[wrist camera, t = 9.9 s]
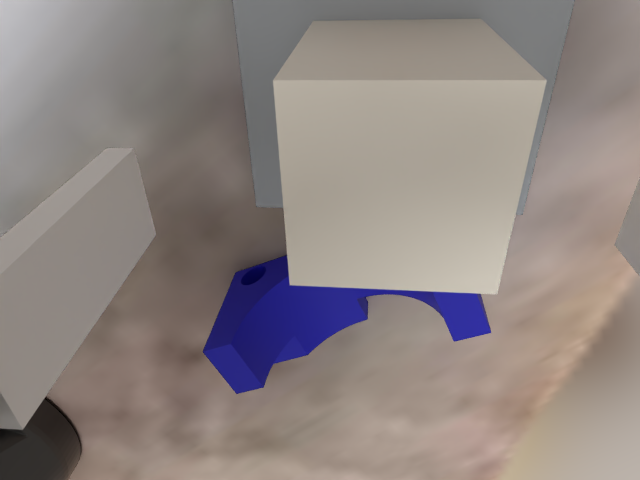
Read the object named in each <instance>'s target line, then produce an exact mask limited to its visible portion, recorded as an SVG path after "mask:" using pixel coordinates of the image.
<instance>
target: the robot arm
mask: <svg viewBox="0 0 640 480" xmlns="http://www.w3.org/2000/svg"><path fill="white" fill-rule="evenodd" d="M155 236H156V232H155V228H154V224H153V220H152V216H151V212H150V208H149V204H148V200H147V196H146V192H145V188H144V184H143V180H142V176H141V173H140V169H139V165H138V161H137V157H136V153H135V149H134V148H106V149H105V150H104V151H103V152H101V153H100V154H99V155H98V156H97V157H95V158H94V159H93V160H92V161H91V162H90V163H88V164H87V165H86V166H85V167H84V168H82V169H81V170H80V171H79V172H78V173H77V174H75V175H74V176H73V177H72V178H71V179H69V180H68V181H67V182H66V183H65V184H63V185H62V186H61V187H60V188H59V189H58V190H56V191H55V192H54V193H53V194H52V195H50V196H49V197H48V198H47V199H46V200H44V201H43V202H42V203H41V204H40V205H39V206H37V207H36V208H35V209H34V210H33V211H31V212H30V213H29V214H28V215H27V216H25V217H24V218H23V219H22V220H21V221H20V222H18V223H17V224H16V225H15V226H14V227H12V228H11V229H10V230H9V231H8V232H6V233H5V234H4V235H3V236H2V237H1V238H0V480H68V479H69V477H70V476H71V474H72V472H73V470H74V468H75V467H76V465H77V463H78V461H79V459H80V455H81V448H80V442H79V439H78V437H77V435H76V433H75V431H74V429H73V428H72V426H71V425H70V423H69V422H68V421H67V420H66V419H65V417H64V416H63V415H62V414H61V413H60V412H59V411H58V410H57V409H56V408H55V407H53V406H52V405H51V404H50V403H49V402H47V401H46V400H45V399H44V398H45V397H46V395H47V394H48V392H49V391H50V389H51V388H52V386H53V385H54V384H55V382H56V381H57V379H58V378H59V376H60V375H61V373H62V372H63V370H64V369H65V367H66V366H67V365H68V363H69V362H70V360H71V359H72V357H73V356H74V354H75V353H76V351H77V350H78V349H79V347H80V346H81V344H82V343H83V341H84V340H85V338H86V337H87V335H88V334H89V332H90V331H91V330H92V328H93V327H94V325H95V324H96V322H97V321H98V319H99V318H100V316H101V315H102V313H103V312H104V311H105V309H106V308H107V306H108V305H109V303H110V302H111V300H112V299H113V297H114V296H115V294H116V293H117V292H118V290H119V289H120V287H121V286H122V284H123V283H124V281H125V280H126V278H127V277H128V276H129V274H130V273H131V271H132V270H133V268H134V267H135V265H136V264H137V262H138V261H139V259H140V258H141V257H142V255H143V254H144V252H145V251H146V249H147V248H148V246H149V245H150V243H151V242H152V240H153V239H154V238H155ZM615 246H616V247H617V249H618V250H619V251H620V252H621V254H622V255H623V256H624V257H625V259H626V260H627V261H628V262H629V264H630V265H631V266H632V267H633V269H634V270H635V271H636V272H637V274H638V275H639V276H640V179H639V181H638V184H637V186H636V189H635V192H634V194H633V197H632V200H631V202H630V205H629V208H628V210H627V213H626V216H625V218H624V221H623V224H622V226H621V229H620V232H619V234H618V237H617V240H616V242H615Z"/></svg>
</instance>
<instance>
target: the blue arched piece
mask: <svg viewBox="0 0 640 480" xmlns="http://www.w3.org/2000/svg"><path fill="white" fill-rule="evenodd" d="M383 294H394V295H403V296H408V297H412V298H415V299H418V300H421V301H423V302H425V303H427V304H428V305H430V306H431V307H433V308H434V309H435V310H436V311H438V312H439V313H440V314H441V316H442V317H443V318H444V320H445V322H446V324H447V327H448V329H449V331H450V334H451V336H452V338H453V340H454V341H459V340H463V339H467V338H471V337H475V336H479V335H484V334H488V333H491V330H490V326H489V323H488V319H487V315H486V312H485V308H484V304H483V301H482V297H481V294H477V293H454V292H432V291H409V290H386V289H364V288H341V287H318V286H295V285H290V283H289V271H288V259H287V255H286V256H283V257H280V258H277V259H274V260H271V261H268V262H265V263H262V264H259V265H256V266H253V267H250V268H247V269H244V270H241V271H238V272H236V273H235V275H234V278H233V280H232V282H231V285H230V287H229V290H228V292H227V294H226V297H225V299H224V302H223V304H222V306H221V309H220V311H219V314H218V316H217V319H216V321H215V323H214V326H213V328H212V331H211V333H210V335H209V338H208V340H207V343H206V345H205V347H204V350H203V353H204V354H205V355H206V357H207V358H208V359H209V360H210V362H211V363H212V364H213V365H214V366H215V368H216V369H217V370H218V371H219V373H220V374H221V375H222V376H223V378H224V379H225V380H226V381H227V383H228V384H229V385H230V386H231V388H232V389H233V390H234V391H235V393H236V394H238V393H242V392H247V391H251V390H255V389H259V388H263V387H264V385H265V381H266V378H267V376H268V374H269V371H270V369H271V367H272V365H273V364H274V363H278V362H282V361H286V360H290V359H294V358H298V357H302V356H306V355H308V354H309V353H310V352H311V351H312V350H313V349H314V348H316V347H317V346H318V345H319V344H320V343H322V342H323V341H324V340H326V339H327V338H329V337H330V336H331V335H333V334H335V333H336V332H338V331H340V330H342V329H344V328H346V327H348V326H350V325H353V324H355V323H358V322H361V321H363V320H367V319H368V301H367V299H366V297H367V296H373V295H383Z"/></svg>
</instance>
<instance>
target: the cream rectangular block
mask: <svg viewBox="0 0 640 480" xmlns="http://www.w3.org/2000/svg"><path fill="white" fill-rule="evenodd" d="M546 82H547V80H546V79H545V78H544V77H543V76H542V75H541V74H540V73H539V72H537V71H536V70H535V69H534V68H533V67H532V66H531V65H530V64H529V63H528V62H527V61H526V60H525V59H524V58H522V57H521V56H520V55H519V54H518V53H517V52H516V51H515V50H514V49H513V48H512V47H511V46H510V45H509V44H508V43H506V42H505V41H504V40H503V39H502V38H501V37H500V36H499V35H498V34H497V33H496V32H495V31H494V30H493V29H491V28H490V27H489V26H488V25H487V24H486V23H485V22H484V21H483V20H482V19H416V20H341V21H313V22H312V23H311V25H310V26H309V28H308V29H307V31H306V32H305V34H304V35H303V37H302V38H301V40H300V41H299V43H298V44H297V46H296V47H295V49H294V50H293V52H292V53H291V54H290V56H289V57H288V59H287V60H286V62H285V63H284V65H283V66H282V68H281V69H280V71H279V72H278V74H277V75H276V77H275V78H274V80H273V87H274V99H275V112H276V124H277V136H278V148H279V161H280V173H281V185H282V197H283V210H284V222H285V234H286V247H287V259H288V271H289V283H290V285H295V286H318V287H341V288H364V289H386V290H409V291H432V292H454V293H477V294H497V293H498V289H499V284H500V280H501V276H502V271H503V267H504V263H505V258H506V254H507V250H508V245H509V241H510V237H511V233H512V228H513V224H514V220H515V215H516V211H517V207H518V202H519V198H520V194H521V190H522V185H523V181H524V177H525V172H526V168H527V164H528V159H529V155H530V151H531V147H532V142H533V138H534V134H535V129H536V125H537V121H538V116H539V112H540V108H541V103H542V99H543V95H544V91H545V86H546Z"/></svg>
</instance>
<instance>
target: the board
mask: <svg viewBox="0 0 640 480" xmlns="http://www.w3.org/2000/svg"><path fill="white" fill-rule="evenodd" d="M232 2H233V10H234V19H235V28H236V36H237V45H238V54H239V62H240V71H241V79H242V88H243V97H244V105H245V114H246V123H247V131H248V140H249V148H250V157H251V166H252V174H253V183H254V192H255V200H256V207H270V208H283V197H282V185H281V173H280V161H279V148H278V136H277V124H276V112H275V99H274V87H273V80H274V78H275V77H276V75H277V74H278V72H279V71H280V69H281V68H282V66H283V65H284V63H285V62H286V60H287V59H288V57H289V56H290V54H291V53H292V52H293V50H294V49H295V47H296V46H297V44H298V43H299V41H300V40H301V38H302V37H303V35H304V34H305V32H306V31H307V29H308V28H309V26H310V25H311V23H312V22H313V21H341V20H416V19H482V20H483V21H484V22H485V23H486V24H487V25H488V26H489V27H490V28H491V29H493V30H494V31H495V32H496V33H497V34H498V35H499V36H500V37H501V38H502V39H503V40H504V41H505V42H506V43H508V44H509V45H510V46H511V47H512V48H513V49H514V50H515V51H516V52H517V53H518V54H519V55H520V56H521V57H522V58H524V59H525V60H526V61H527V62H528V63H529V64H530V65H531V66H532V67H533V68H534V69H535V70H536V71H537V72H539V73H540V74H541V75H542V76H543V77H544V78H545V79H546V80H547V82H546V86H545V91H544V95H543V99H542V103H541V108H540V112H539V116H538V121H537V125H536V129H535V134H534V138H533V142H532V147H531V151H530V155H529V159H528V164H527V168H526V172H525V177H524V181H523V185H522V190H521V194H520V198H519V202H518V207H517V211H516V215H523V211H524V207H525V203H526V199H527V194H528V190H529V186H530V182H531V178H532V174H533V170H534V166H535V162H536V158H537V153H538V149H539V145H540V141H541V137H542V133H543V129H544V125H545V121H546V117H547V112H548V108H549V104H550V100H551V96H552V92H553V88H554V84H555V80H556V75H557V71H558V67H559V63H560V59H561V55H562V51H563V47H564V43H565V39H566V34H567V30H568V26H569V22H570V18H571V14H572V10H573V6H574V2H575V0H232Z"/></svg>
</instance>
